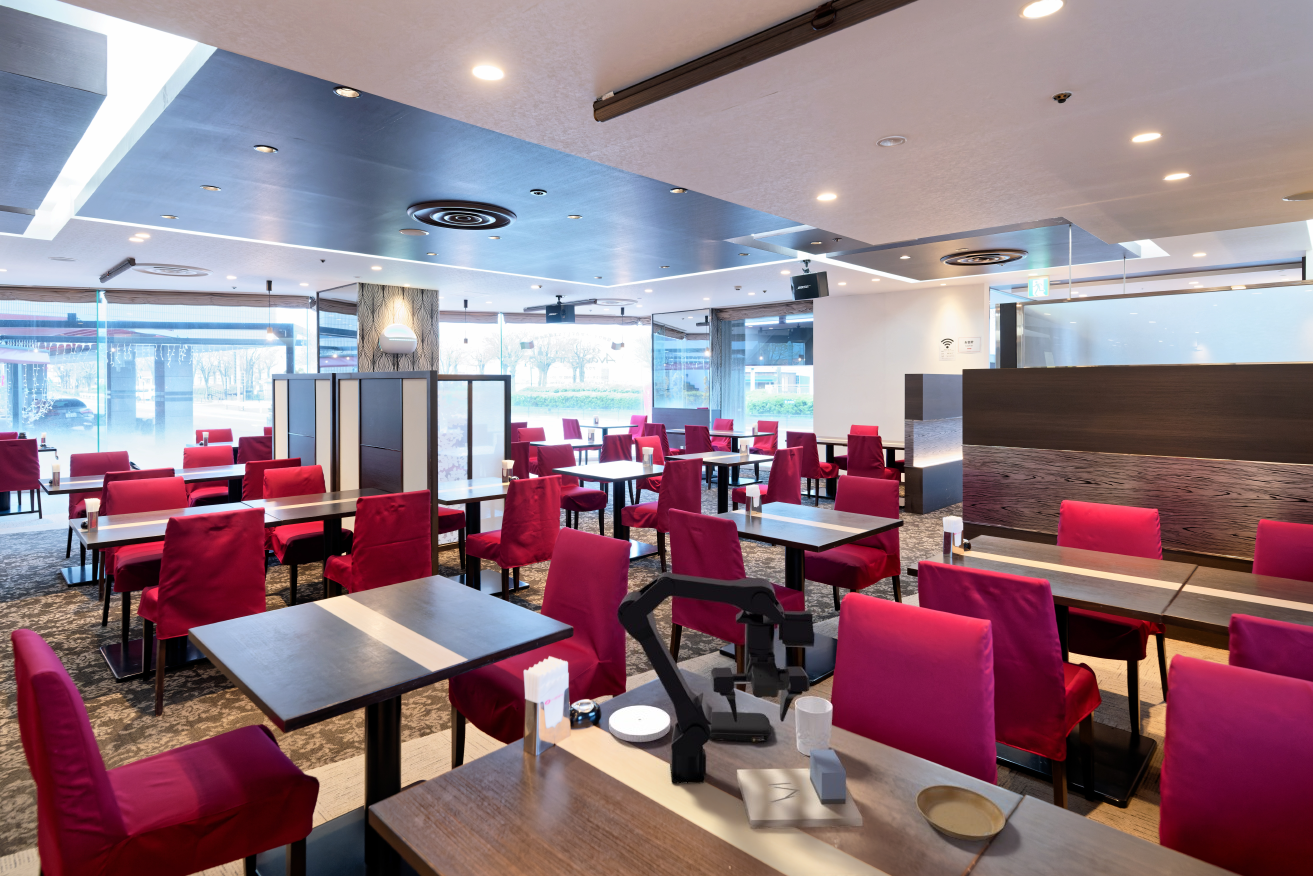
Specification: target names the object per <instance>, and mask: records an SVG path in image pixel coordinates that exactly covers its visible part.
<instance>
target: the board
mask: <svg viewBox="0 0 1313 876" xmlns="http://www.w3.org/2000/svg"><path fill="white" fill-rule="evenodd" d="M736 778H737V779H736V780H737V782H738V785H739V790H740V793H741V797H742V800H743V804H744V809H745V812H746V816H747V820H748V823H749V827H750V829H783V828H790V829H791V828H824V827H823V826H843V827H863V816H862V814H861V812H860V811H859V809H858V807H857V804H856V803H855V801H854V800H853V797H852V796H851V794H850V792H849V790H848V788H847V787H846V804H821V803H820V800H819V798H818V796H817V794H816V792H815V790H814V787H813V785H812V783H811V781H810V767H809V768H760V769H759V768H756V769H754V768H753V769H747V768H746V769H745V768H744V769H736ZM819 826H820V827H819ZM821 826H822V827H821Z"/></svg>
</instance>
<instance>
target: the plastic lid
mask: <svg viewBox="0 0 1313 876" xmlns="http://www.w3.org/2000/svg"><path fill="white" fill-rule="evenodd" d="M608 728H609V731H610V733H611V734H612V735H613V736H614V737H615V738H618V739H620V740H623V741H627V742H632V743H633V742H635V743H636V742H637V743H642V742H643V743H645V742H651V741H655V740H658V739H661V738H662V737H664V736H666V734H667V733H669V732H670V730H671V717H670V715H669V714H668V713H667V712H666V711H665V710H663V709H661V708H659V707H655V706H650V705H632V706H631V705H630V706H626V707H623V708H620V709H617V710H616V711H614V712H613V713H612V714H611V715H610V717H609V719H608Z"/></svg>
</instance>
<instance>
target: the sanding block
mask: <svg viewBox="0 0 1313 876" xmlns="http://www.w3.org/2000/svg"><path fill="white" fill-rule="evenodd" d="M809 762H810V763H809V768H810V781H811V783H812V785H813V787H814V790H815V792H816V794H817V796H818V798H819V800H820V803H821V804H846V788H847V772H846V770H845V768H844V766H843V764H842V762H841V761H840V759H839V757H838V755H837V754H836V752H835V749H831V748H830V749H829V750H810V756H809Z"/></svg>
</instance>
